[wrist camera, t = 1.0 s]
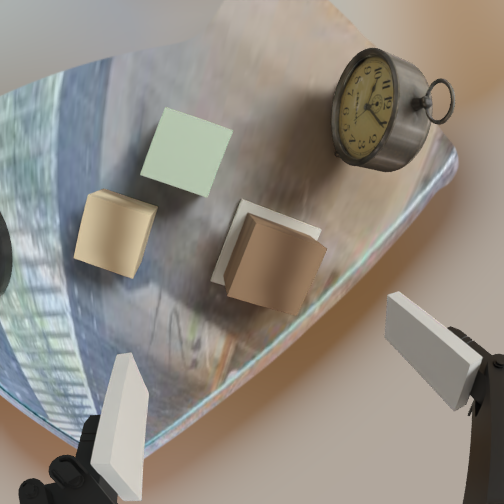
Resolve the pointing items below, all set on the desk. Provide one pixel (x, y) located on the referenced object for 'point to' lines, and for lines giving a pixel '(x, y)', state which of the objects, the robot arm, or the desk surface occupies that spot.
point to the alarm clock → (382, 111)
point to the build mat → (238, 223)
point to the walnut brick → (272, 265)
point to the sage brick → (186, 152)
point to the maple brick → (114, 232)
